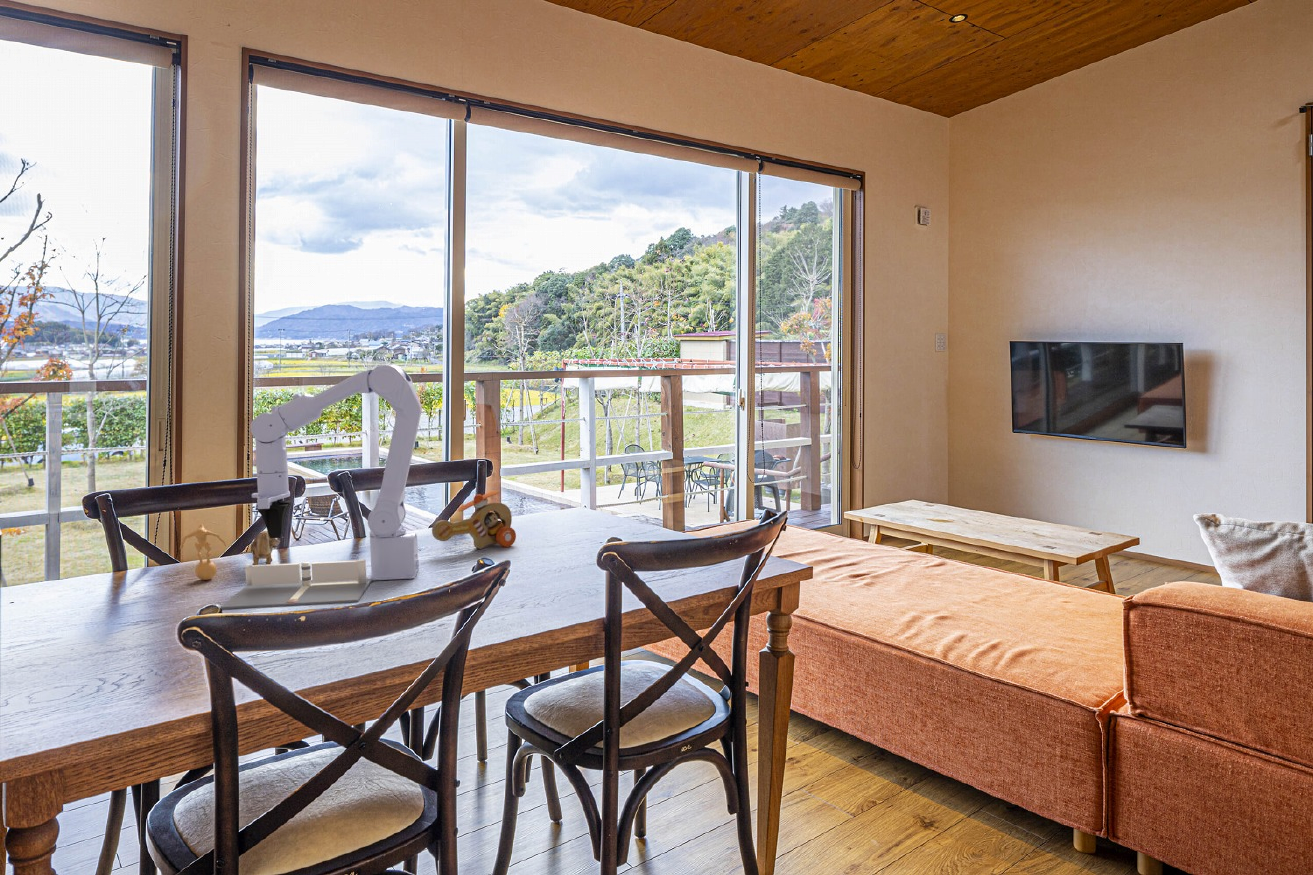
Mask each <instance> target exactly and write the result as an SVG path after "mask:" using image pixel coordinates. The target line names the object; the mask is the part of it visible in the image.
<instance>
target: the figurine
mask: <svg viewBox="0 0 1313 875" xmlns="http://www.w3.org/2000/svg"><path fill="white" fill-rule="evenodd" d="M208 536H212V537H216V538H217V539H218V540H219V541H221V542H222V544H223V545H224V546H225V547H226V546H227V544H226V541H225V540H224V539H223V538H222V537H221V536H220V534H217V533H216V532H215V533H214V532H212V531H210V530H208V529H206V528H205V526H204V524H199V525H198V528H197V529H196V530H194V531H193V532H191V533H189V534H187V535H185V536H184V537H183V538H182V541H181V544H180V547H179V550H182V548H183V547H184V544H185V543H186V542H185V541H186V540H187V539H189V538H193V537H195V539H196V541H197V542H195V544H194V546H195V549H196V552H197V557H198V559H199V560H198V561H199V563H198V564H197V565H196V566H195V568H194V573H195V574H194V575H196V577H197V578H198V579H199V580H202V581H208V580H211V579H213V578H214V577H215V576H216V574H217V571H218V568H217V565H216V564H215V563H214V562H213V561H212V560H211V559H210V555H211V550H212V548H211V542H210V541H207V539H208ZM203 548H204V549H205V550H207V552H206V553H205V554H206V555H205V556H206V560H203V558H202V556H203V555H202V553H201V552H202V551H201V550H202V549H203Z"/></svg>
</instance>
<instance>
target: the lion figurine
mask: <svg viewBox="0 0 1313 875" xmlns="http://www.w3.org/2000/svg"><path fill="white" fill-rule="evenodd" d="M280 542H281V540H279V539H278V538H270V537H269V535H268V531H267V530H264V531H261V532H259V533H257V534H256V535H255V537H254V539H253V541H252V542H251V546H250V549H251V552H252V560H253V562H252V564H251V565H260V564H259V563H260V562H259V560H265V565H269V564H272V562H271V561H273V558H272V553H273V549H274V550H277V549H278V546H279V545H280Z"/></svg>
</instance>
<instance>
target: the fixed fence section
mask: <svg viewBox="0 0 1313 875" xmlns="http://www.w3.org/2000/svg"><path fill="white" fill-rule="evenodd" d="M366 565H367V563H366V559H357V560H339V561H336V560H335V561H319V562H315V561H313V562H311V561H304V562H301V563H300V570H301V581H302V585H303V586H309V585H311V580H312V582H330V581H350V580H358V583H360V584H364V583H366V577H367V566H366Z"/></svg>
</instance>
